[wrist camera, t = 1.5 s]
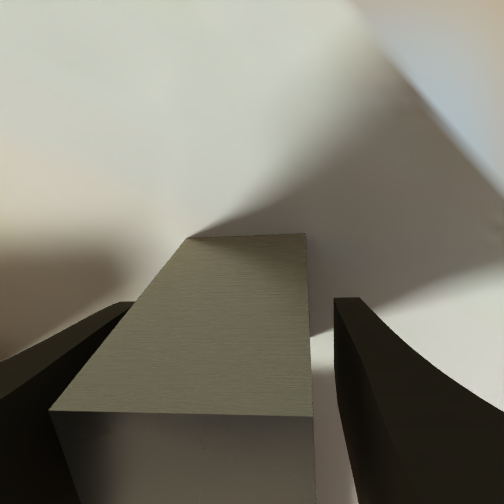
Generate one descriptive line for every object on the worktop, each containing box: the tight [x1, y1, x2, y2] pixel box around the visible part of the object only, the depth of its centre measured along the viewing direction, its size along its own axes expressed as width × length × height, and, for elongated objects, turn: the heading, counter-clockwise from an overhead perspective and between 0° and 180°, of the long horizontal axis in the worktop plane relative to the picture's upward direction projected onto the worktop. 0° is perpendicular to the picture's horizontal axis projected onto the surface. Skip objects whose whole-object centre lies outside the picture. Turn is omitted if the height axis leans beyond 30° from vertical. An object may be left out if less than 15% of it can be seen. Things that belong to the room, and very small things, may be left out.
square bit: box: [48, 233, 316, 504], centre depth 9 cm, size 4×4×7 cm
